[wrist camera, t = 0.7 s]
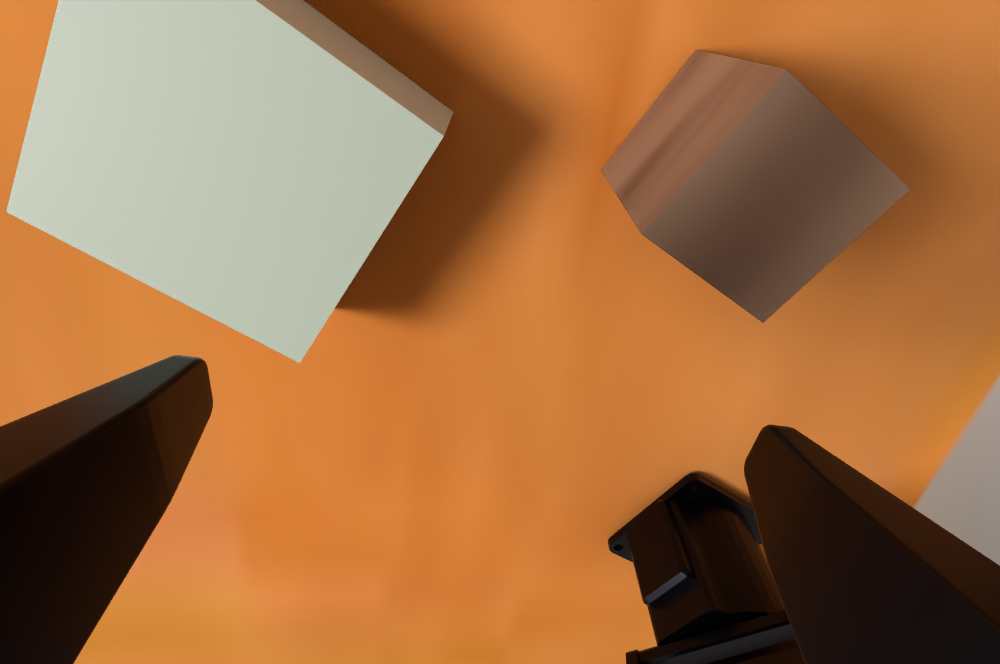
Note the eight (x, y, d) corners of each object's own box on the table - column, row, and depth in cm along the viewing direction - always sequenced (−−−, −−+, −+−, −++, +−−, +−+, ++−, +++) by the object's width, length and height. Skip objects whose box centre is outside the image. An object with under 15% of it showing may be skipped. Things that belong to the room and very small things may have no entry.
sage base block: (453, 111, 18) (444, 135, 14) (331, 306, 21) (299, 363, 18) (182, -91, 15) (88, -121, 11) (96, 174, 19) (6, 212, 15)
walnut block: (791, 136, 18) (910, 188, 13) (693, 240, 20) (763, 322, 15) (696, 49, 16) (786, 69, 11) (600, 170, 18) (641, 234, 13)
